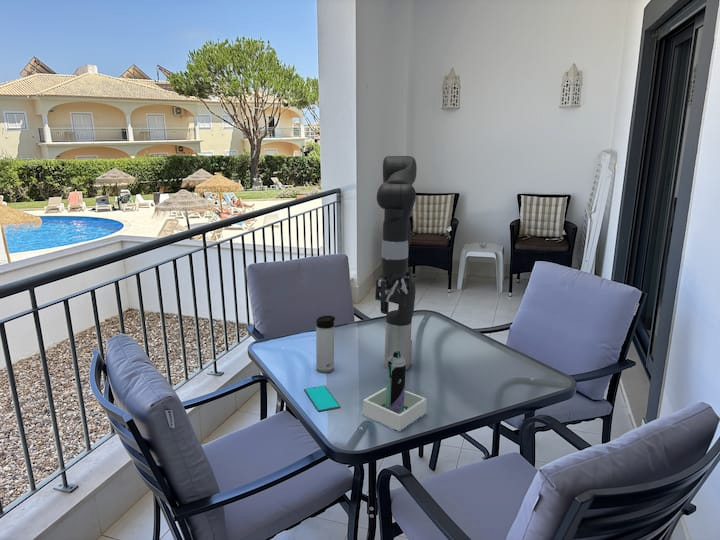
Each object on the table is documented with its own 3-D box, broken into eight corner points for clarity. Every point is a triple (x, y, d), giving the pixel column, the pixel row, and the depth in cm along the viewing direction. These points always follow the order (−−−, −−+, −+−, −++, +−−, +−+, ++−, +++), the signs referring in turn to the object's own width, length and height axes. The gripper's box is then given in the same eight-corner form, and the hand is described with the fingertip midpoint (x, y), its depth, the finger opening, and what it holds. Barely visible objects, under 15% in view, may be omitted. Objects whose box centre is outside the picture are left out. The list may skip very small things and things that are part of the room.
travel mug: (332, 374, 178) (332, 320, 173) (314, 372, 179) (314, 318, 174) (336, 366, 184) (337, 314, 179) (319, 364, 185) (319, 313, 180)
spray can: (398, 420, 149) (401, 357, 144) (382, 414, 151) (384, 352, 146) (406, 412, 153) (409, 350, 148) (390, 406, 156) (393, 346, 151)
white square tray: (390, 398, 161) (390, 384, 160) (426, 413, 153) (426, 398, 152) (362, 415, 151) (363, 400, 150) (399, 432, 143) (399, 416, 142)
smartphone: (318, 411, 152) (303, 388, 166) (318, 413, 153) (303, 391, 166) (341, 406, 155) (325, 385, 169) (341, 409, 155) (325, 387, 169)
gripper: (398, 249, 150) (397, 300, 154) (368, 257, 139) (367, 313, 144) (419, 253, 145) (417, 306, 150) (390, 262, 135) (389, 319, 139)
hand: (393, 309), depth 147 cm, fingers open, 8 cm apart
